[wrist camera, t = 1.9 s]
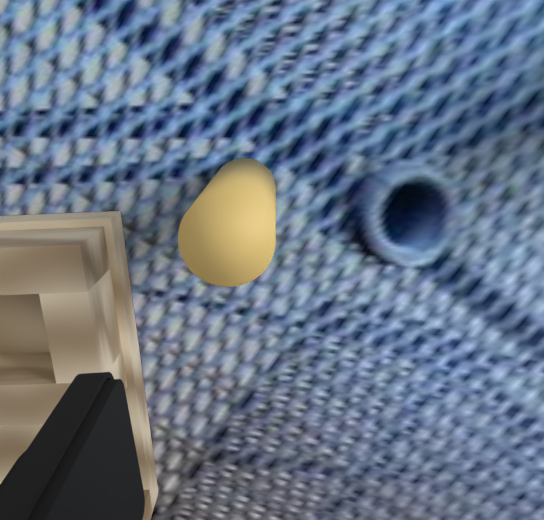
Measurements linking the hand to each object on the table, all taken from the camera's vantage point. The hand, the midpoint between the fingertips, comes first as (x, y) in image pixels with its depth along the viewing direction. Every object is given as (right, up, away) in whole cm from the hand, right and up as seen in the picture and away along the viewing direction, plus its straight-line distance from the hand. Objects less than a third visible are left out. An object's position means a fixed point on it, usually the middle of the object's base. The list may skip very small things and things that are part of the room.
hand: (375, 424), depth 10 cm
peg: (-4, +7, +23) cm, 25 cm away
